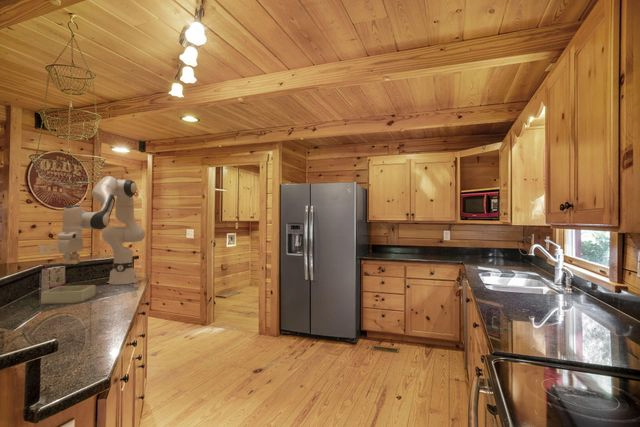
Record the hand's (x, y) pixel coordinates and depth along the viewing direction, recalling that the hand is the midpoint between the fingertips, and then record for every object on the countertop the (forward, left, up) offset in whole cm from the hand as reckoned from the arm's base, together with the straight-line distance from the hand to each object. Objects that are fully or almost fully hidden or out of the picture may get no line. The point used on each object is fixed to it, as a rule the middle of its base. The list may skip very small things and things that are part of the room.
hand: (71, 260), depth 179 cm
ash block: (0, 0, -2) cm, 2 cm away
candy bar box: (-10, -12, -21) cm, 27 cm away
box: (0, 0, -21) cm, 21 cm away
